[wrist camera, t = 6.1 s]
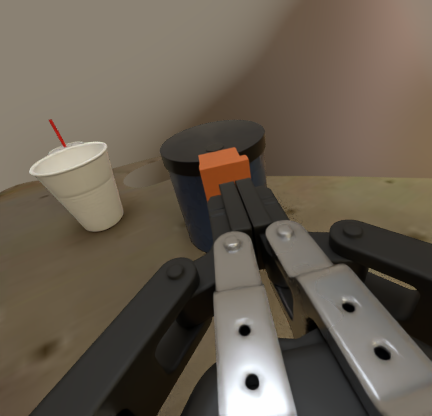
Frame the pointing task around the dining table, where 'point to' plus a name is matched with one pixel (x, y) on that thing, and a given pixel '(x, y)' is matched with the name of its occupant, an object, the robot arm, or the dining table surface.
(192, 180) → the blue lidded canister
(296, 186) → the dining table surface
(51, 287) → the dining table surface
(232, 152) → the slider
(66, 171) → the cup
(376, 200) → the dining table surface
